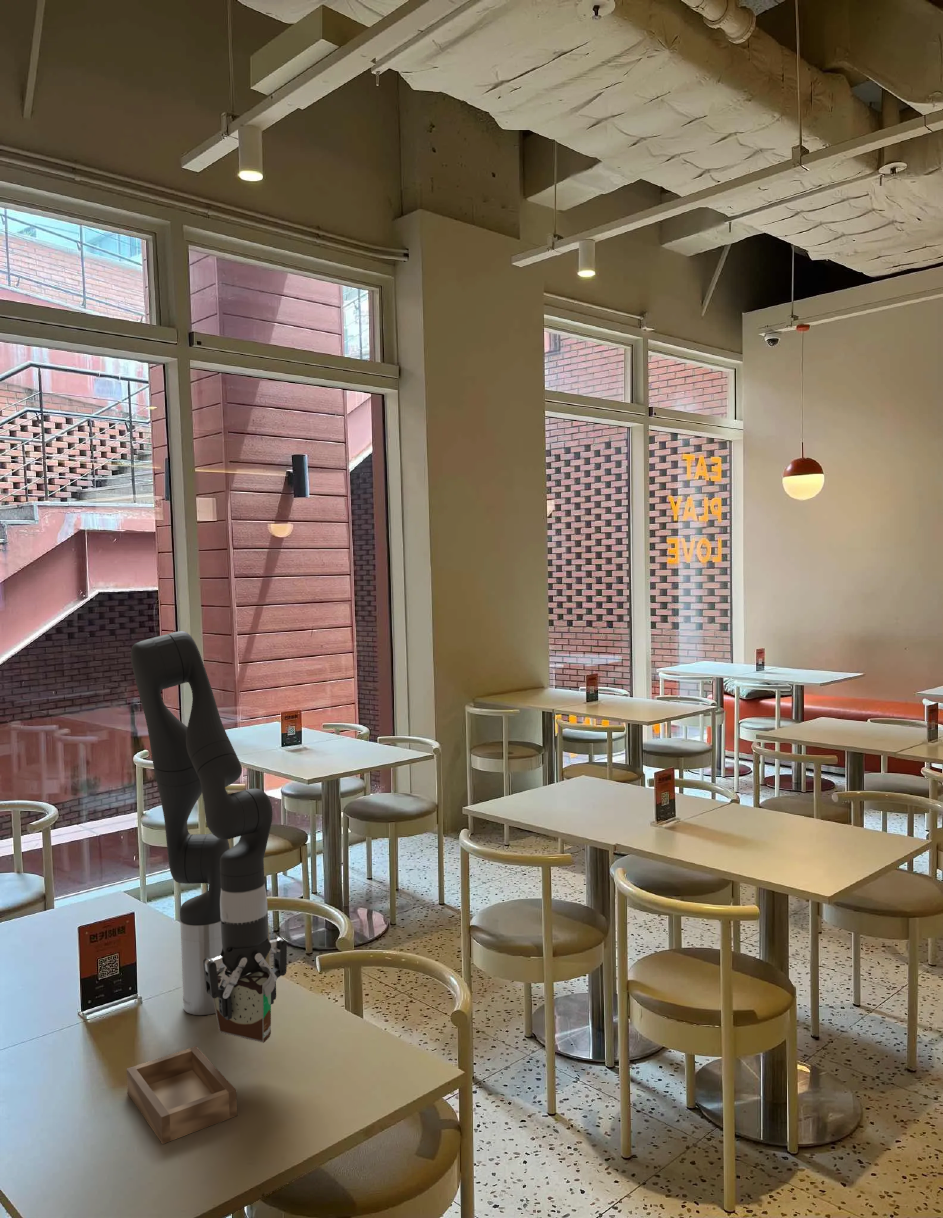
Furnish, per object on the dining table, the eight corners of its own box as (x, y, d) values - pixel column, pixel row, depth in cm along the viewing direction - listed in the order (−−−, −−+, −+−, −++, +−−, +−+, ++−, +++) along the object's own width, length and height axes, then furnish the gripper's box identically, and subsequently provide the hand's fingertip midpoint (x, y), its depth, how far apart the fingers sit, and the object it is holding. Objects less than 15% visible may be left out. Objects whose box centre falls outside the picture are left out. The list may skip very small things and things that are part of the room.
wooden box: (197, 1069, 156) (196, 1046, 156) (237, 1115, 142) (236, 1090, 142) (127, 1093, 149) (126, 1068, 149) (162, 1144, 135) (161, 1117, 135)
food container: (294, 1025, 154) (289, 967, 153) (271, 1044, 148) (265, 984, 147) (237, 1012, 159) (231, 956, 158) (212, 1031, 154) (206, 973, 153)
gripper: (273, 895, 160) (277, 989, 160) (192, 917, 151) (197, 1016, 152) (294, 907, 154) (298, 1004, 155) (211, 930, 145) (215, 1034, 146)
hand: (248, 1010), depth 153 cm, fingers closed on food container, 7 cm apart
